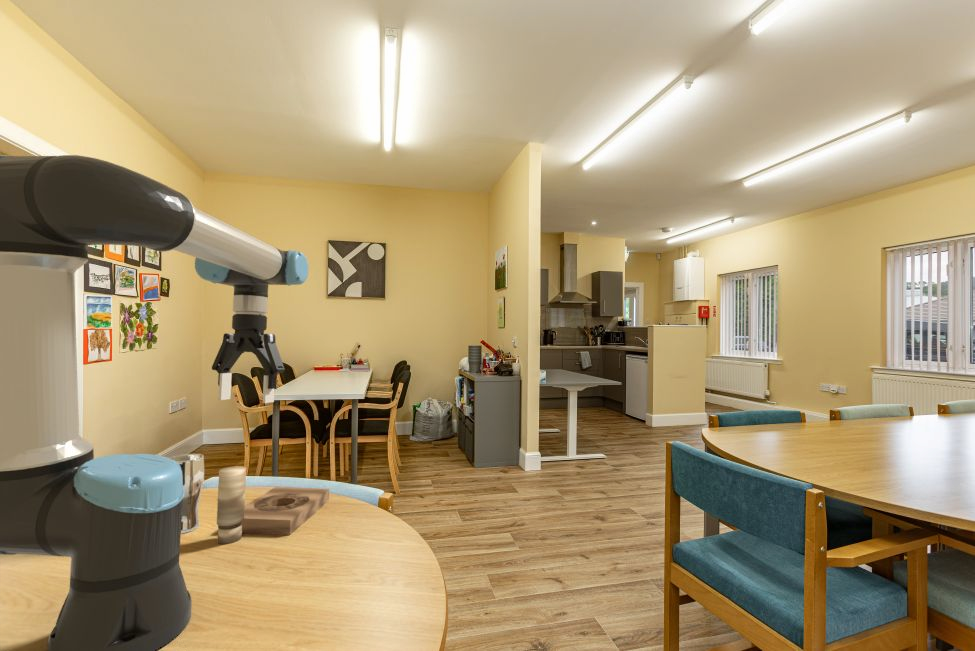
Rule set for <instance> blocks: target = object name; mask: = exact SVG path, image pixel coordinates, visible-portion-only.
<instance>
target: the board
mask: <svg viewBox="0 0 975 651" xmlns="http://www.w3.org/2000/svg"><path fill="white" fill-rule="evenodd" d="M328 500H329V501H330V488H318V487H317V488H315V487H314V488H312V487H311V488H310V487H289V486H288V487H284V486H282V487H281V486H275V487H273V488H272V489H270V490H268V491H266V492H265V493H264V494H262V495H260V496H258V497H257V498H255V499H254V500H252V501H251V502H248V503H247V504H245V508H244V520H243V523H242V534H256V535H257V534H261V535H283V536H290V535H291V534H292V533H294V532H295V531H296V530H297V529H298V528H300V527H301V526H302V525H303V524H304V523H305V522H306V521H308V520H309V519H310V518H311V517H312V516H314V515H315V514H316V513H317V512H318V511H319V510H320V509H322V508H323V507H324V506H325V505H326V504H327V503H328V502H329V501H328ZM327 501H328V502H327ZM326 502H327V503H326ZM325 503H326V504H325ZM324 504H325V505H324ZM323 505H324V506H323ZM317 510H318V511H317ZM316 511H317V512H316ZM315 512H316V513H315Z"/></svg>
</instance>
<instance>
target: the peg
mask: <svg viewBox="0 0 975 651" xmlns="http://www.w3.org/2000/svg"><path fill="white" fill-rule="evenodd" d="M246 478H247V467H246V466H242V465H241V466H240V465H235V466H228V467H223V468H221V469H219V470H218V485H217V486H218V488H217V490H218V491H217V511H216V525H217V543H218V544H220V545H221V544H222V545H227V544H232V543H236V542H238V541H240V540H241V539H242V537H243V536H242V535H243V533H242V523H243V520H244V508H245V505H246V481H247V479H246Z"/></svg>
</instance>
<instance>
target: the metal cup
mask: <svg viewBox="0 0 975 651" xmlns="http://www.w3.org/2000/svg"><path fill="white" fill-rule="evenodd" d="M169 458H170V459H172V460H174V461H176V462H177V463H178V464H179V465H180V467H181V470H182V477H183V487H184V496H183V504H182V520H181V535H182V534H186V533H190V532H192V531H194V530H196V529H198V528H200V519H199V505H200V499H201V495H202V492H203V486H204V482H205V481H204V480H205V459H204V458H205V456H204V454H202V453H186V454H179V455H178V454H177V455H174V456H171V457H169Z"/></svg>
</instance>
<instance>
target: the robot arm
mask: <svg viewBox="0 0 975 651" xmlns="http://www.w3.org/2000/svg"><path fill="white" fill-rule="evenodd" d="M96 245H97V246H98V245H99V246H100V245H101V246H105V245H112V246H113V245H114V246H133V247H141V248H146V249H149V250H153V251H156V252H160V253H161V252H162V253H163V252H164V253H165V252H171V251H177V252H178V253H182V254H186V255H188V256H191V257H193V258H195V259H194V269H195V272H196V274H197V275H198V276H199V278H201V279H203V280H205V281H208V282H210V283H213V284H219V285H225V286H229V287H233V299H232V312H233V313H234V314H233V315H232V317H231V318H232V321H231V329H233V330H234V333H223V337H222V342H221V344H220V347H219V350H218V352H217V355H216V357H215V358H214V360H213V364H212V365H211V369H212V371H216V372H217V374H218V378H217V380H218V381H217V385H218V401H225V400H231V396H232V377H233V376H232V375H233V373H232V371H231V369H233V367H234V366H235V364H236V362H238V360H239V358H240V357H241V355H242V354H244V353H252V354H254V355H255V356H256V358H257V360H258V362H259V363H260V365H261V367H262V368H263V370H264V371H265V374H264V375H263V387H262V404H269V403H274V402H275V390H276V389H277V386H278V385H277V384H278V383H277V380H278V376H279V374H280V373H284V372H285V371H286V368H285V366H284V363H283V361H282V358H281V355H280V352H279V349H278V346H277V343H276V335H275V334H274V333H265V331H267V328H268V327H267V325H268V317H267V315H265V314H267V313H268V305H269V304H268V301H269V286H270V285H272V286H273V285H274V286H275V285H276V286H278V285H279V286H292V285H293V286H294V285H295V286H299V285H303V284H304V283H305V282H306V281H307V279H308V277H309V276H308V275H309V271H310V270H309V269H310V268H309V262H308V258H307V257H306V255H305V254H304V253H303V252H301V251H298V250H297V251H296V250H290V249H289V250H281V249H279V248H277V247H274V246H273V245H271V244H269V243H267V242H265V241H263V240H260V239H258V238H257V237H255V236H253V235H250V234H249V233H247V232H245V231H243V230H241V229H239V228H237V227H235V226H232V225H231V224H229V223H226V222H224V221H222V220H221V219H219V218H216V217H215V216H213V215H211V214H208V213H206V212H205V211H203V210H200V209H199V208H197V207H195V206H194V205H193V203H192V201H191V200H190V199H189V198H188V197H187V196H186V195H185V194H183V193H181V192H179V191H177V190H175V189H174V188H172V187H170V186H168V185H166V184H164V183H161V182H160V181H158V180H155V179H153V178H151V177H148V176H147V175H144V174H142V173H140V172H137V171H135V170H132V169H129V168H127V167H124V166H122V165H118V164H115V163H112V162H110V161H108V160H107V161H106V160H103V159H100V158H96V157H90V156H85V155H84V156H83V155H77V154H74V155H73V154H72V155H71V154H70V155H68V154H66V155H63V154H62V155H24V156H23V155H8V154H5V155H4V154H3V155H2V154H1V155H0V555H6V556H7V555H8V556H9V555H11V556H12V555H17V554H19V555H32V556H34V555H35V556H49V557H50V556H52V557H66V558H67V557H68V558H71V559H70V560H71V561H70V576H69V578H70V579H69V580H70V581H69V589H68V593H67V595H66V597H65V600H64V602H63V604H62V607H61V609H60V612H59V614H58V617H57V619H56V622H55V625H54V627H53V628H52V630H51V632H50V634H49V636H48V639H47V644H46V651H155V650H156V651H158V650H159V649H161V648H163V647H164V646H166V645H167V644H169V643H170V642H172V641H173V640H174V639H175V638H177V637H178V636H179V635H180V634H181V633H182V632H183V631H184V630H185V629H186V627H188V624H189V623H190V620H191V618H192V605H193V604H192V603H193V601H192V596H191V594H190V592H189V590H188V589H187V584H186V582H185V579H184V575H183V572H182V569H181V565H180V554H181V553H180V552H181V551H180V549H181V535H182V534H181V520H182V504H183V496H184V487H183V477H182V470H181V467H180V465H179V464H178V463H177V462H176V461H174V460H172V459H170V457H167V456H162V455H157V454H151V453H135V454H129V453H121V454H120V453H119V454H118V453H117V454H111V455H106V456H101V457H97V458H95V456H94V454H95V453H94V452H95V451H94V444H93V443H92V442H90V441H89V440H87V439H85V438H84V437H81V435H80V422H79V421H80V420H79V419H80V418H79V388H78V384H79V383H78V382H79V381H78V359H77V358H78V357H77V355H78V354H77V353H78V352H77V351H78V350H77V349H78V348H77V325H76V323H77V321H76V320H77V319H76V318H77V316H76V292H75V291H76V290H75V273H76V272H77V271H78V270H79V269H81V268H82V267H83V266H84V265H85V264H87V263H88V262H89V258H88V257H89V253H88V252H89V251H88V250H89V248H88V246H96ZM177 635H178V636H177ZM172 639H173V640H172ZM168 642H169V643H168ZM160 647H161V648H160Z"/></svg>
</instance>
